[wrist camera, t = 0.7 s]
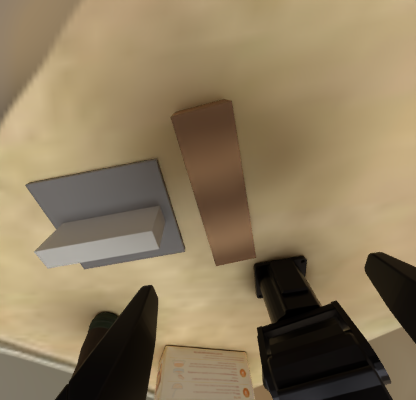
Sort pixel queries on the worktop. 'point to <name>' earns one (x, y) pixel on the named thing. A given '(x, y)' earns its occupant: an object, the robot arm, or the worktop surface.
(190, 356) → the coffeecake box
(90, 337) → the potato masher grenade
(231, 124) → the plank
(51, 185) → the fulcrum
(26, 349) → the worktop surface
